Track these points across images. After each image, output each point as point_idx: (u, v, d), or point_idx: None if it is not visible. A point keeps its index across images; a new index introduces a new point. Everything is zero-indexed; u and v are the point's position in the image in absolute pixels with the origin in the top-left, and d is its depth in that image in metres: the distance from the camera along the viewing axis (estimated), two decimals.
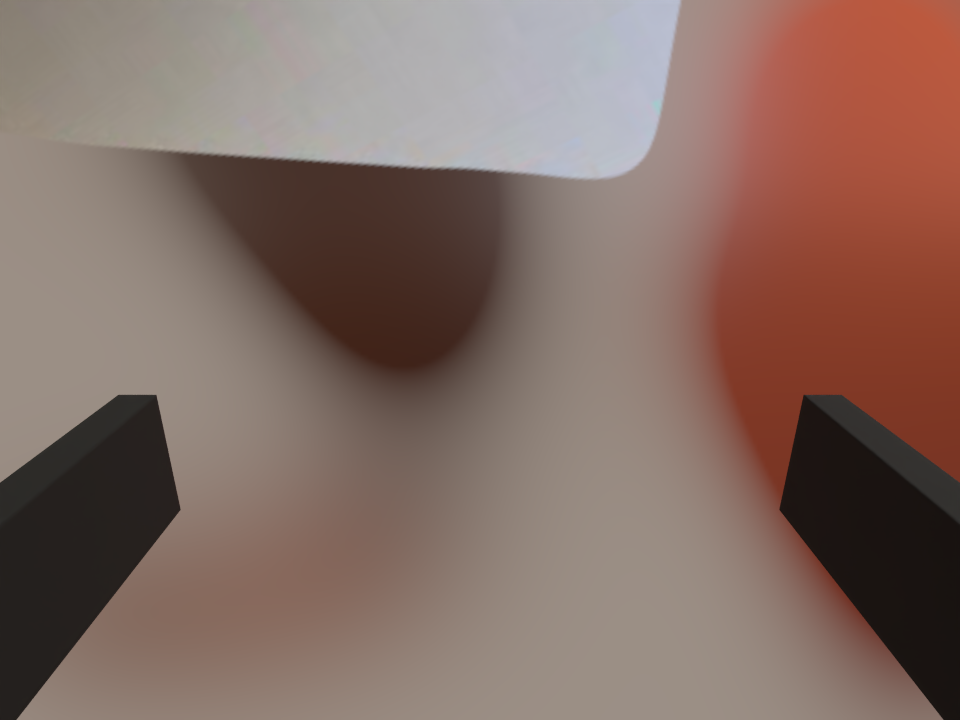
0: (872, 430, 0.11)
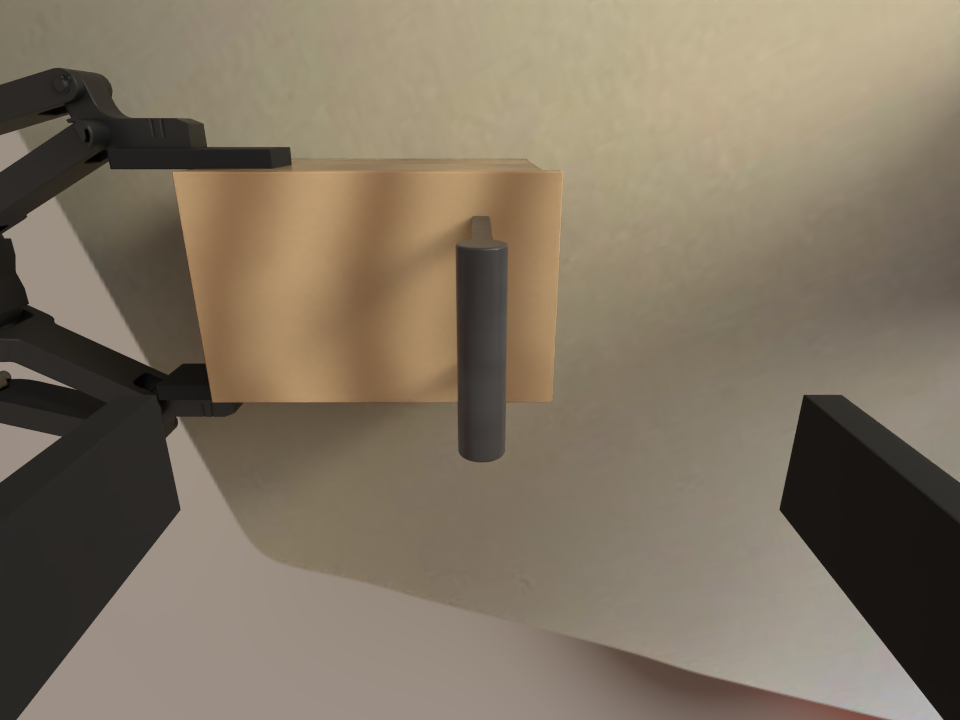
0: (872, 430, 0.11)
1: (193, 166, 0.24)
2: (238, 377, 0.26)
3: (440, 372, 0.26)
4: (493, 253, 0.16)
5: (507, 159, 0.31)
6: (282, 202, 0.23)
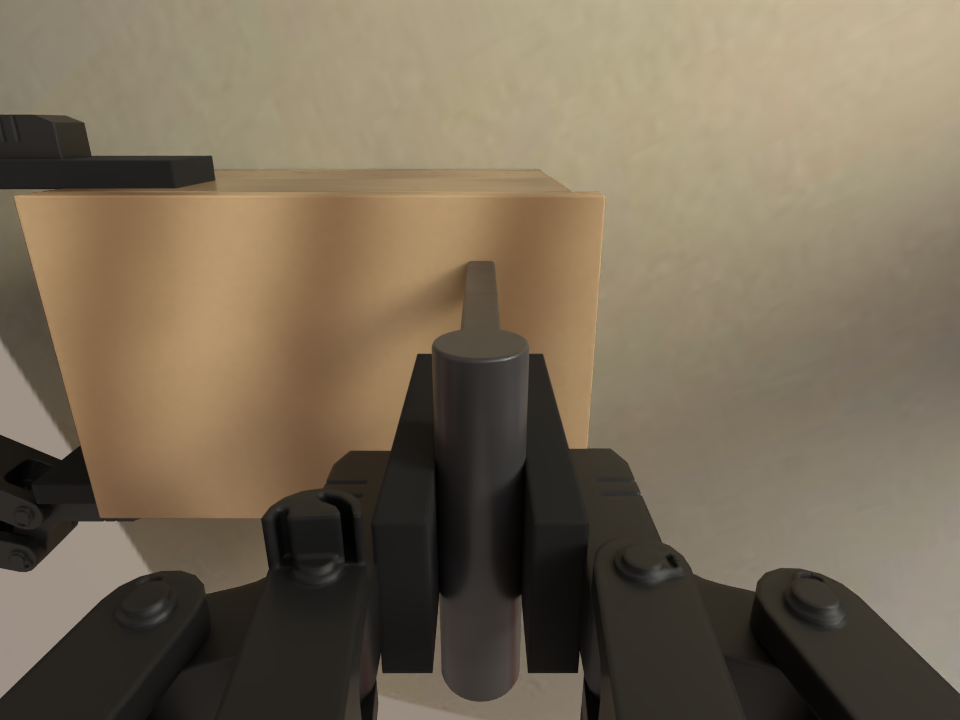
0: (535, 377, 0.13)
1: (60, 185, 0.17)
2: (134, 485, 0.18)
3: None
4: (502, 367, 0.09)
5: (515, 170, 0.24)
6: (182, 240, 0.15)
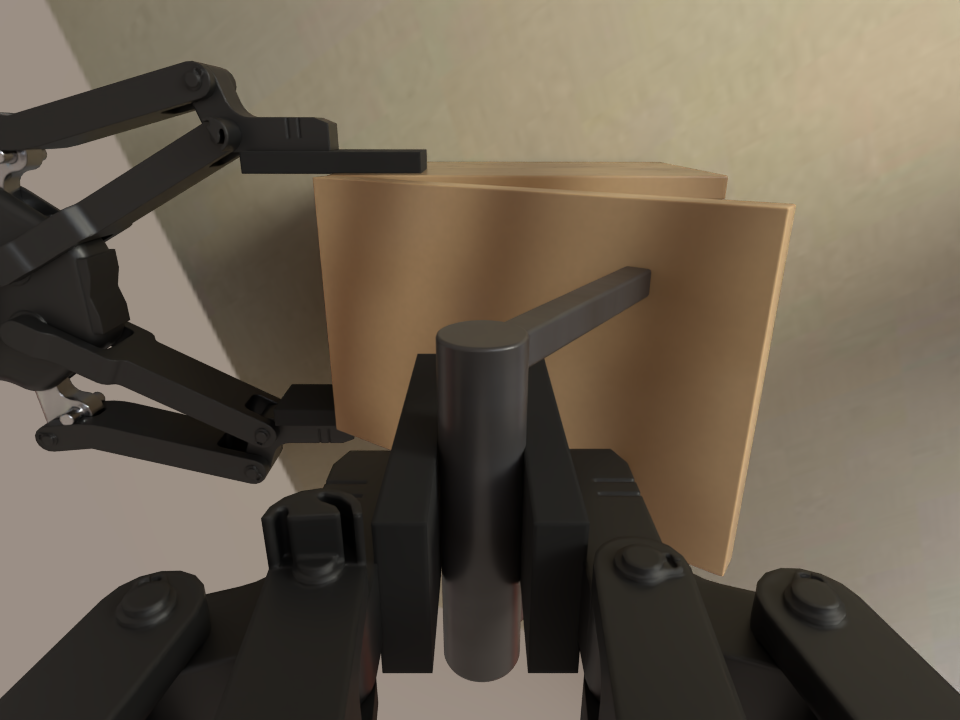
0: (535, 378, 0.13)
1: (333, 170, 0.22)
2: (357, 410, 0.23)
3: None
4: (475, 357, 0.09)
5: (641, 162, 0.29)
6: (403, 220, 0.19)
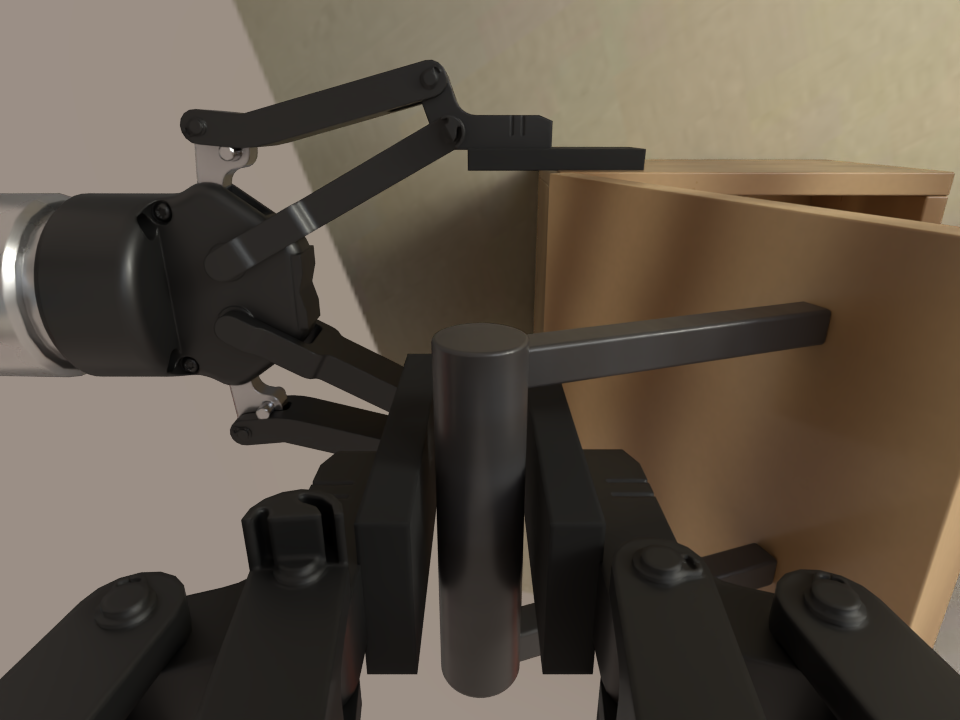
0: None
1: (558, 167, 0.22)
2: None
3: (709, 537, 0.15)
4: (447, 358, 0.09)
5: (809, 160, 0.29)
6: (607, 222, 0.18)
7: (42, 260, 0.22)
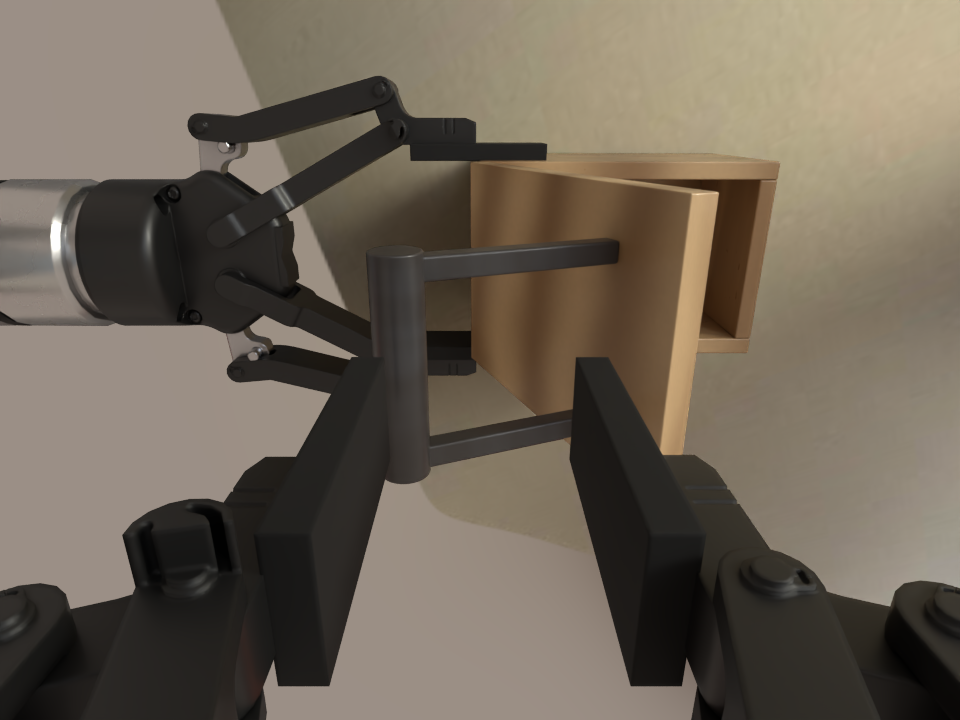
0: (607, 383, 0.13)
1: (480, 158, 0.29)
2: (480, 343, 0.29)
3: None
4: (374, 260, 0.15)
5: None
6: (507, 196, 0.24)
7: (82, 229, 0.28)
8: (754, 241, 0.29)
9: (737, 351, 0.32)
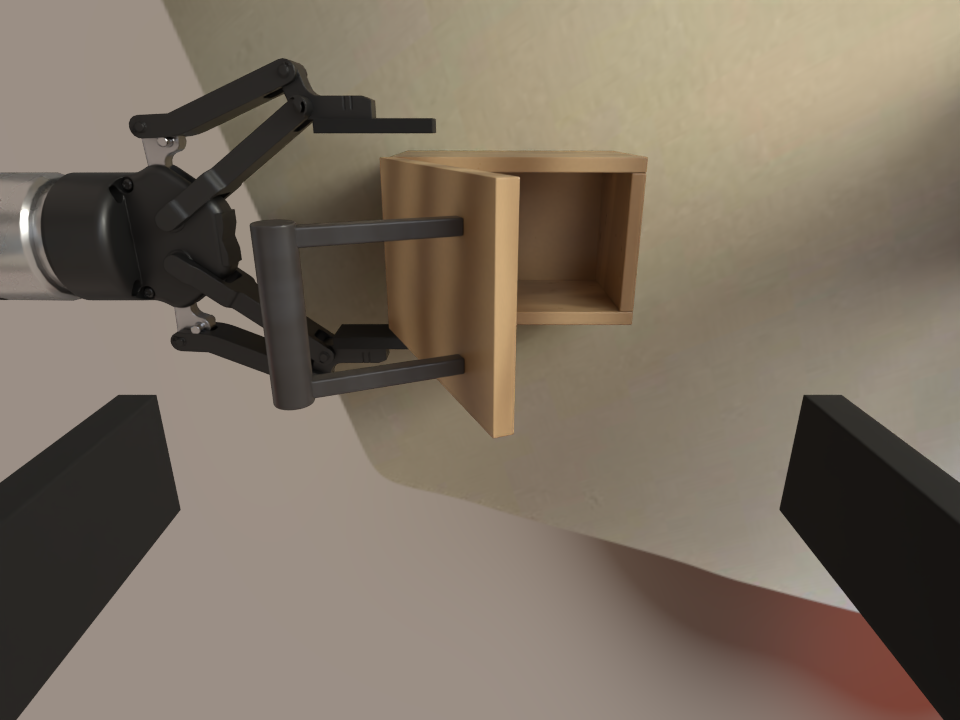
0: (871, 430, 0.11)
1: (374, 131, 0.33)
2: (393, 314, 0.34)
3: None
4: (254, 229, 0.20)
5: (600, 151, 0.40)
6: (402, 185, 0.29)
7: (46, 215, 0.33)
8: (630, 226, 0.34)
9: (622, 323, 0.36)
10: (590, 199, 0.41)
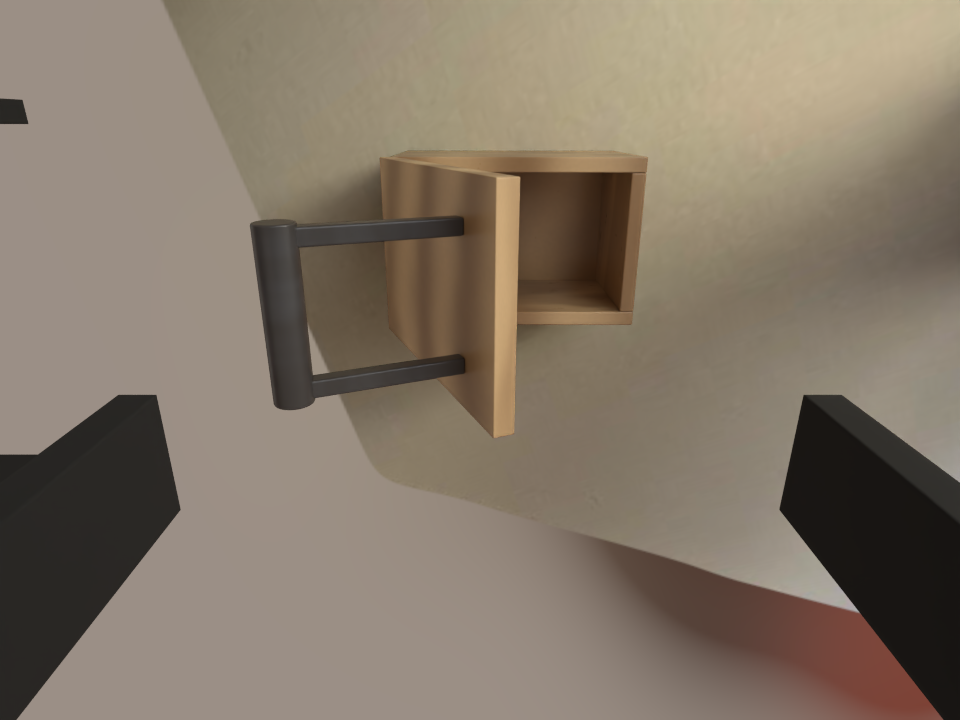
0: (871, 430, 0.11)
1: None
2: (393, 314, 0.34)
3: None
4: (254, 229, 0.20)
5: (600, 151, 0.40)
6: (402, 185, 0.29)
7: None
8: (630, 226, 0.34)
9: (622, 323, 0.36)
10: (590, 199, 0.41)
